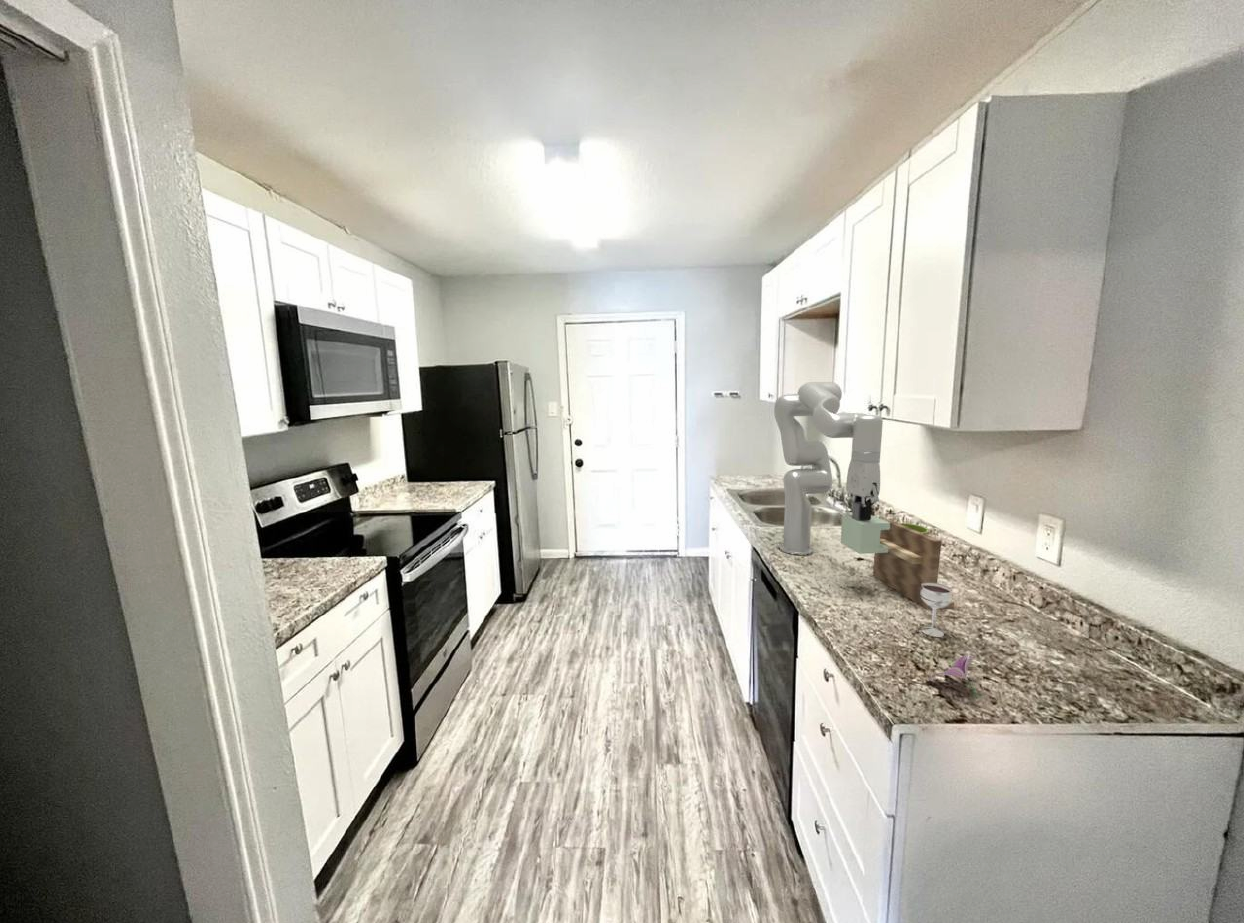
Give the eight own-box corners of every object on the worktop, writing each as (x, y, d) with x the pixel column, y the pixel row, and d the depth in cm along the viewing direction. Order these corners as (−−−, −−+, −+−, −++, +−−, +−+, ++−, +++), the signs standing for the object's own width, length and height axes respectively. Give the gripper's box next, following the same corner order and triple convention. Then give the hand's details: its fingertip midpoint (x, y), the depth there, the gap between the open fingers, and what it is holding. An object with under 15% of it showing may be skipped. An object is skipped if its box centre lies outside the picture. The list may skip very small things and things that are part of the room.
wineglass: (933, 640, 115) (938, 594, 113) (910, 627, 122) (914, 583, 120) (954, 636, 117) (959, 591, 115) (930, 623, 123) (935, 580, 122)
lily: (979, 681, 101) (957, 636, 103) (1020, 694, 90) (994, 644, 92) (927, 700, 101) (906, 654, 103) (962, 715, 89) (937, 664, 92)
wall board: (865, 576, 154) (870, 517, 151) (895, 574, 155) (900, 516, 152) (919, 610, 131) (926, 541, 128) (953, 607, 132) (961, 539, 129)
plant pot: (880, 554, 174) (883, 525, 172) (901, 549, 179) (904, 521, 177) (911, 565, 163) (914, 534, 161) (933, 559, 168) (936, 529, 166)
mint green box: (840, 542, 146) (843, 499, 144) (866, 541, 147) (870, 498, 145) (859, 553, 136) (862, 507, 134) (887, 552, 137) (891, 506, 135)
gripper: (838, 453, 145) (834, 511, 148) (870, 461, 129) (866, 526, 132) (860, 453, 146) (856, 510, 149) (896, 461, 130) (891, 525, 132)
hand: (861, 517), depth 140 cm, fingers closed on mint green box, 3 cm apart
